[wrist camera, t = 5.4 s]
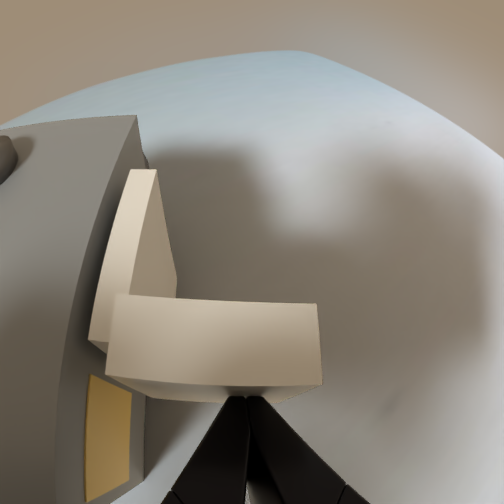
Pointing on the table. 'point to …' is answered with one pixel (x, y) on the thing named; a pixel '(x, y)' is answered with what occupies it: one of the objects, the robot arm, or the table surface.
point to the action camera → (62, 314)
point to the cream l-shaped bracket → (191, 321)
